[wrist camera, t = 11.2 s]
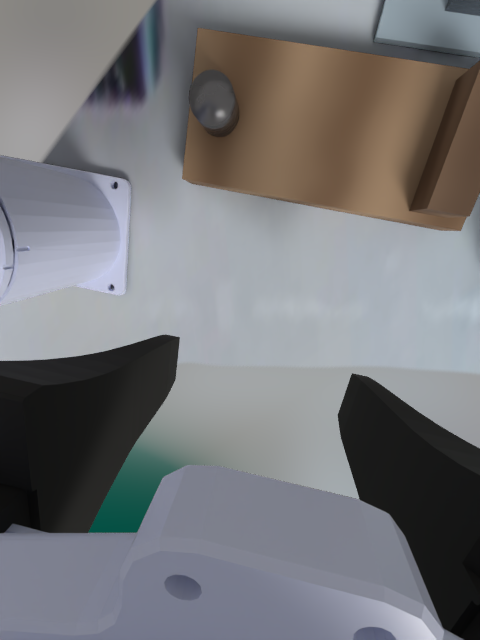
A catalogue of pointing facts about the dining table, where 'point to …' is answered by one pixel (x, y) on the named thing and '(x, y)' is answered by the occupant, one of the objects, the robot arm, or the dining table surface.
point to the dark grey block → (464, 6)
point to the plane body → (335, 129)
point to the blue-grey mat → (428, 27)
